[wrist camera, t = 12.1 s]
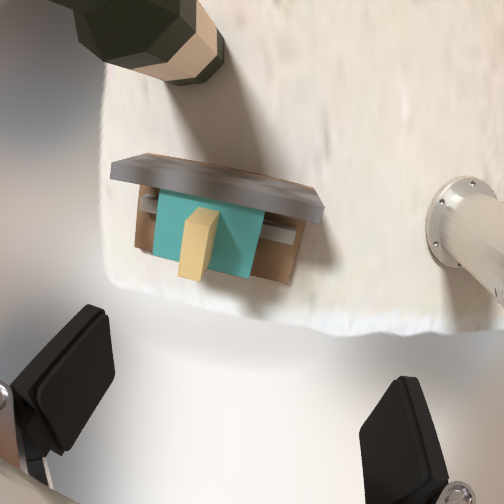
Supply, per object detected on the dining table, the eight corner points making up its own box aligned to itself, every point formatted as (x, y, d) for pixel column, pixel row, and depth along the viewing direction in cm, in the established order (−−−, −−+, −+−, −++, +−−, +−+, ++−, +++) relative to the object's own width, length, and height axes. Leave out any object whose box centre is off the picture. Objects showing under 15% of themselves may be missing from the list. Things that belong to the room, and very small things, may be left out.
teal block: (267, 194, 34) (262, 226, 24) (254, 251, 37) (243, 302, 27) (181, 175, 34) (140, 199, 24) (173, 232, 37) (134, 274, 26)
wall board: (313, 187, 35) (324, 207, 26) (287, 279, 39) (289, 319, 31) (147, 153, 35) (111, 162, 26) (138, 243, 39) (106, 273, 31)
